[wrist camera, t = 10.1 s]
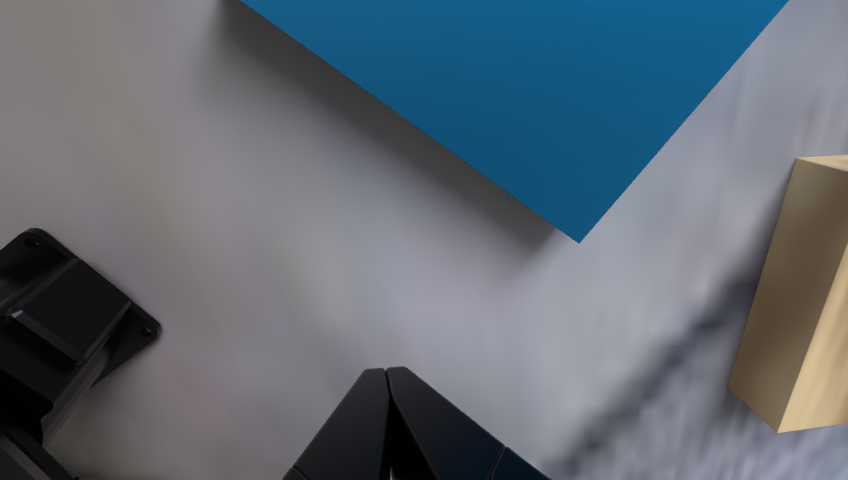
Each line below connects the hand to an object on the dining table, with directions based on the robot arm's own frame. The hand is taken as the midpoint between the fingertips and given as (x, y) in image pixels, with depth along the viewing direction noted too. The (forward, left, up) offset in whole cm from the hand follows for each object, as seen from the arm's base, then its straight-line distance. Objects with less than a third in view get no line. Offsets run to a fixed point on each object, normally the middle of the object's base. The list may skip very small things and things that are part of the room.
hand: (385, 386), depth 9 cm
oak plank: (+14, -17, -10) cm, 24 cm away
